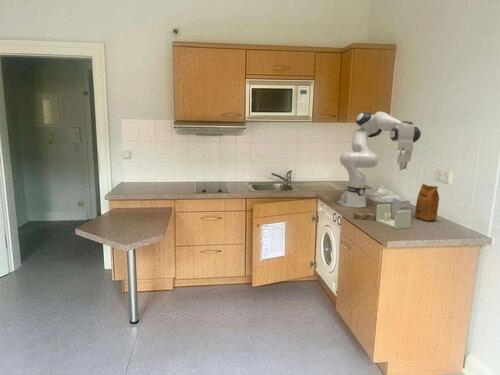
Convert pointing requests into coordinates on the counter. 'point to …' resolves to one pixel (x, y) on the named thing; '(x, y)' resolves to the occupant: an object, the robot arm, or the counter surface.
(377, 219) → the pegged wall bracket
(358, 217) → the brown wooden block
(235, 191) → the counter surface
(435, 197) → the coffee package
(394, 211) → the supplement box
